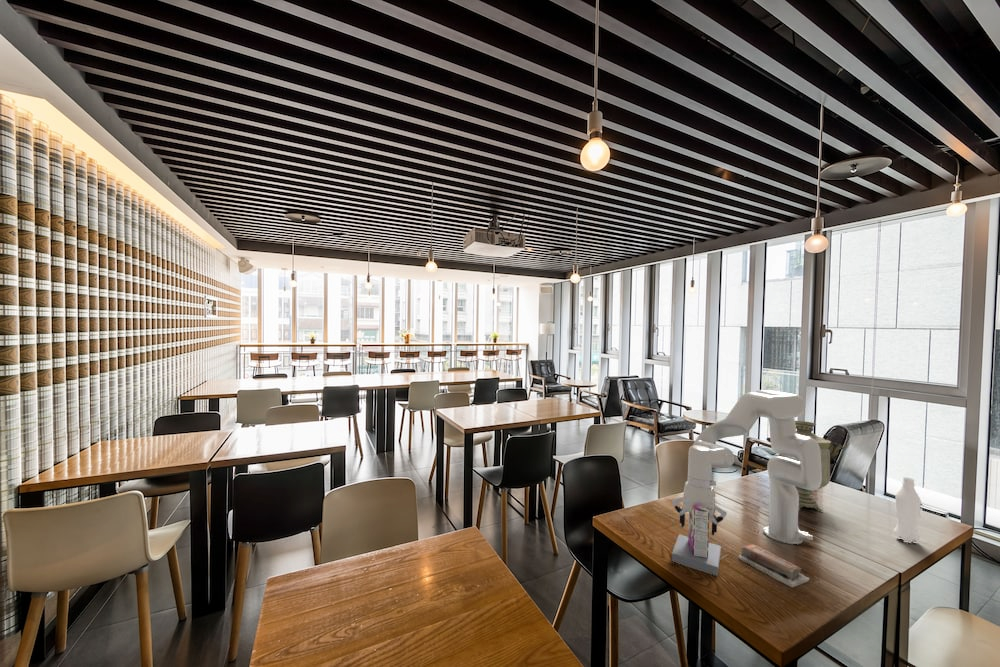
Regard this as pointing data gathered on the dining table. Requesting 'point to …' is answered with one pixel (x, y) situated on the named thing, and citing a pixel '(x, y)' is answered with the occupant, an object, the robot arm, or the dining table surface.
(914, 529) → the water bottle
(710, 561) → the base plinth
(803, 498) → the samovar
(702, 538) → the candy bar box
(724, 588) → the dining table surface
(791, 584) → the packaged product
